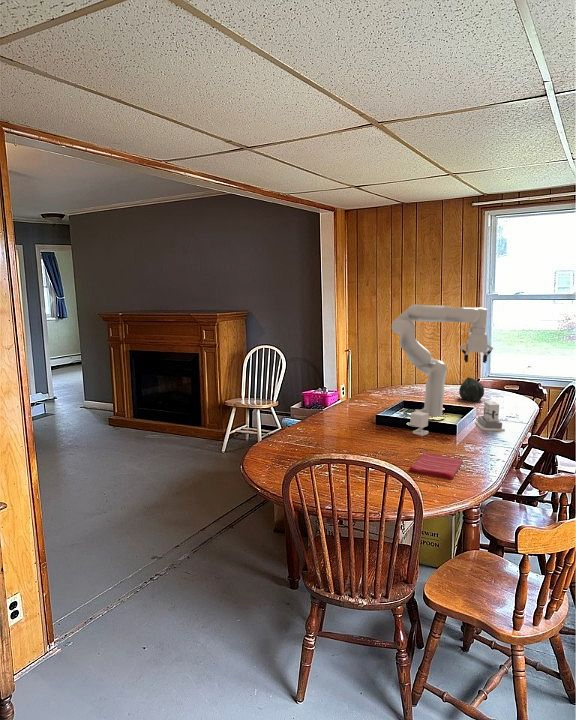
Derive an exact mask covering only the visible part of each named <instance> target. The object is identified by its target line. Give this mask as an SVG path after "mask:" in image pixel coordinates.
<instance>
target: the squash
mask: <svg viewBox="0 0 576 720" xmlns="http://www.w3.org/2000/svg"><path fill="white" fill-rule="evenodd" d="M458 393H459V396H460V398H461V399H462V400H464V401H468V402H471V401H472V402H476V401H479V400H481V399H482V398H483V397H484V395H485V388H484V385H482V382H480V381H478V380H476V379H475V378H472V377H468V376H467V378H466V379H465V380H464V381H463V382H462V383H461V384H460V387H459V390H458Z"/></svg>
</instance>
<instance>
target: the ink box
mask: <svg viewBox="0 0 576 720" xmlns="http://www.w3.org/2000/svg"><path fill="white" fill-rule="evenodd" d="M483 403H484V404H483V415H482V416H483V419H484V420H485V421H486V422H498V420H499V411H500V404H499V403H497V402H495V401H494V400H486V401H484V402H483Z"/></svg>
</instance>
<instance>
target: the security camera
mask: <svg viewBox="0 0 576 720" xmlns="http://www.w3.org/2000/svg"><path fill="white" fill-rule="evenodd" d="M428 418H429V414H428V413H423V412H419V411H416V412H415V411H413V412H411V413H410V421H409V422H410V423H409V425H410V426H414V427H417V429H415V430H412V434H415V435H417V436H422V437H423V436H426V435H428V434H429V430H425V429H424V428H425V427H428V426H429V420H428Z"/></svg>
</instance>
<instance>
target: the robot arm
mask: <svg viewBox="0 0 576 720" xmlns="http://www.w3.org/2000/svg"><path fill="white" fill-rule="evenodd" d="M487 315H488V309H487V308H484V307H467V306H462V307H454V306H449V305H426V304H425V305H423V304H412V305H410V306H409V307H408V308H407V309H405V310H404V311H403V312H402V313H401V314H400V315H399V316H397V317H396V318H395V319H394V320H393V322H392V323H391V330H392V332H393V333H394V334H395V335H396V334H397V335H399V345H400V348H401V349H402V350H403V352H404V353H406V358H407V360H408V361H409V362H410V363H411V364H412V365H413V366H414V367H415V368H416V369H417V370H419V371H420V372H421V373H423V374H424V375H427V379H426V383H425V391H424V395H425V396H424V404H423V405H424V407H422V409H414V412H416V411H419V412H423V413H428V414H429V416H431V417H437V416H442V415H443V408H444V406H443V405H444V393H445V384H446V383H445V382H446V377H447V373H448V368H447V365H446V363H445V362H443V361H442V360H439V359H436V358H433V357H432V354H431V352H430V351H429V350H428V349H427V348H426V347H425V346H423V345H422V344H421V343H420V342H419V341H418V340H417V339H416V326H415V325H416V324H414V323H415V322H416V321H417V322H423V323H424V322H425V323H426V322H427V323H428V322H433V323H434V322H437V323H470V328H467V332H468V331H469V333H468V336H467V340H466V343H464V344H461V345H460V346H459V348H460V350H461V352H462V353H463V356H464V357H463V361H464V362H465V363H468V361H469V354H470V353H483V355H482V356H483V357H482V363H484V364H486V363H487V361H488V356H489V355H490V354H491V352H492V351H493V350H494V347H492V346H491V345H489V344H488V334H487V333H486V328H487V318H488V316H487ZM464 348H465V349H464Z"/></svg>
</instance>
